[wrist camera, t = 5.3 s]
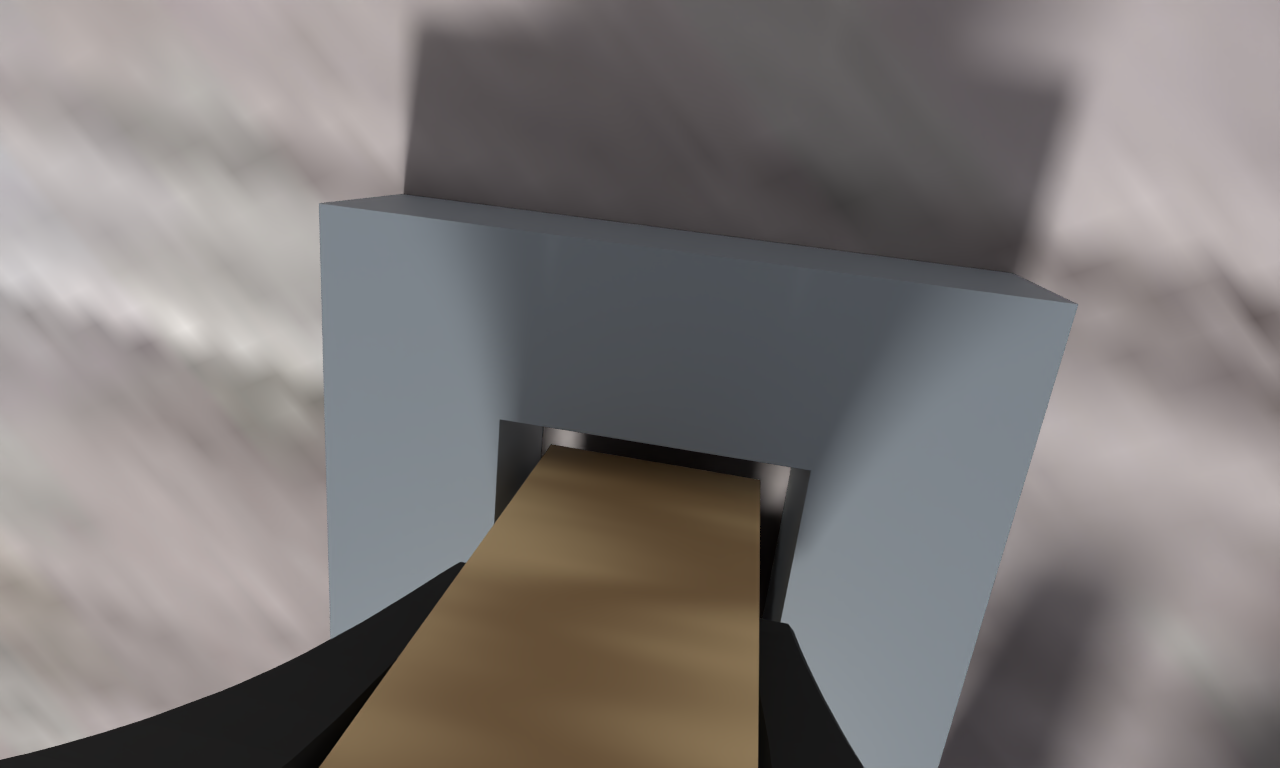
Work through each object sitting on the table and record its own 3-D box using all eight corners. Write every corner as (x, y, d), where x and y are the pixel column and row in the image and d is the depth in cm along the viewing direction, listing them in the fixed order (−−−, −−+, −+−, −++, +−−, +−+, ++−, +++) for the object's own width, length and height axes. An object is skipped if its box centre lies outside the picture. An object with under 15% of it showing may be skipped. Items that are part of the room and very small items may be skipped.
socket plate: (1012, 273, 14) (1078, 304, 11) (877, 775, 17) (898, 896, 15) (402, 193, 15) (318, 203, 12) (398, 675, 19) (333, 767, 16)
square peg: (760, 479, 14) (756, 886, 6) (727, 657, 15) (691, 1175, 7) (551, 444, 14) (309, 782, 7) (537, 619, 15) (320, 1070, 8)
